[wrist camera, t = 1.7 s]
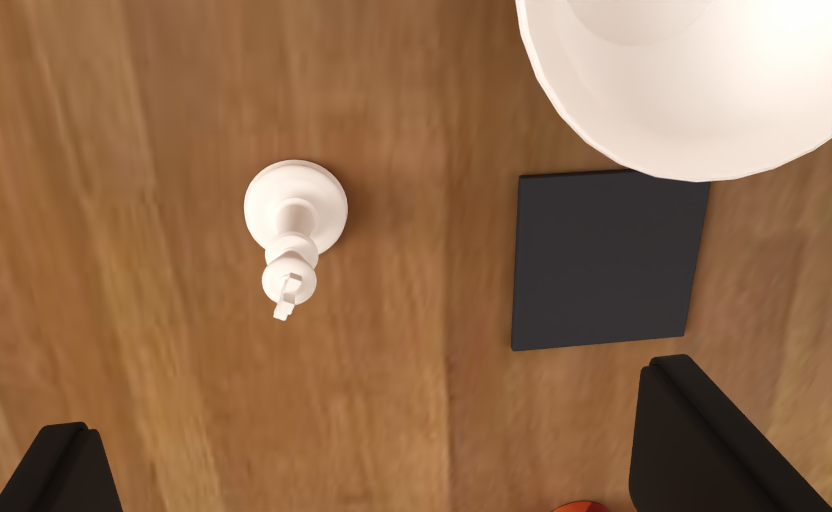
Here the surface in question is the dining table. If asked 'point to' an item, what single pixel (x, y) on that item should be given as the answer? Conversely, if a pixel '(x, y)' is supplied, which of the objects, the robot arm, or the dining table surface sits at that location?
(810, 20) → the bowl
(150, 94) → the dining table surface
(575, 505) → the paper cup
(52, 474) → the robot arm
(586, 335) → the coaster
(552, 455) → the dining table surface
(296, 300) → the chess piece
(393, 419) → the dining table surface
